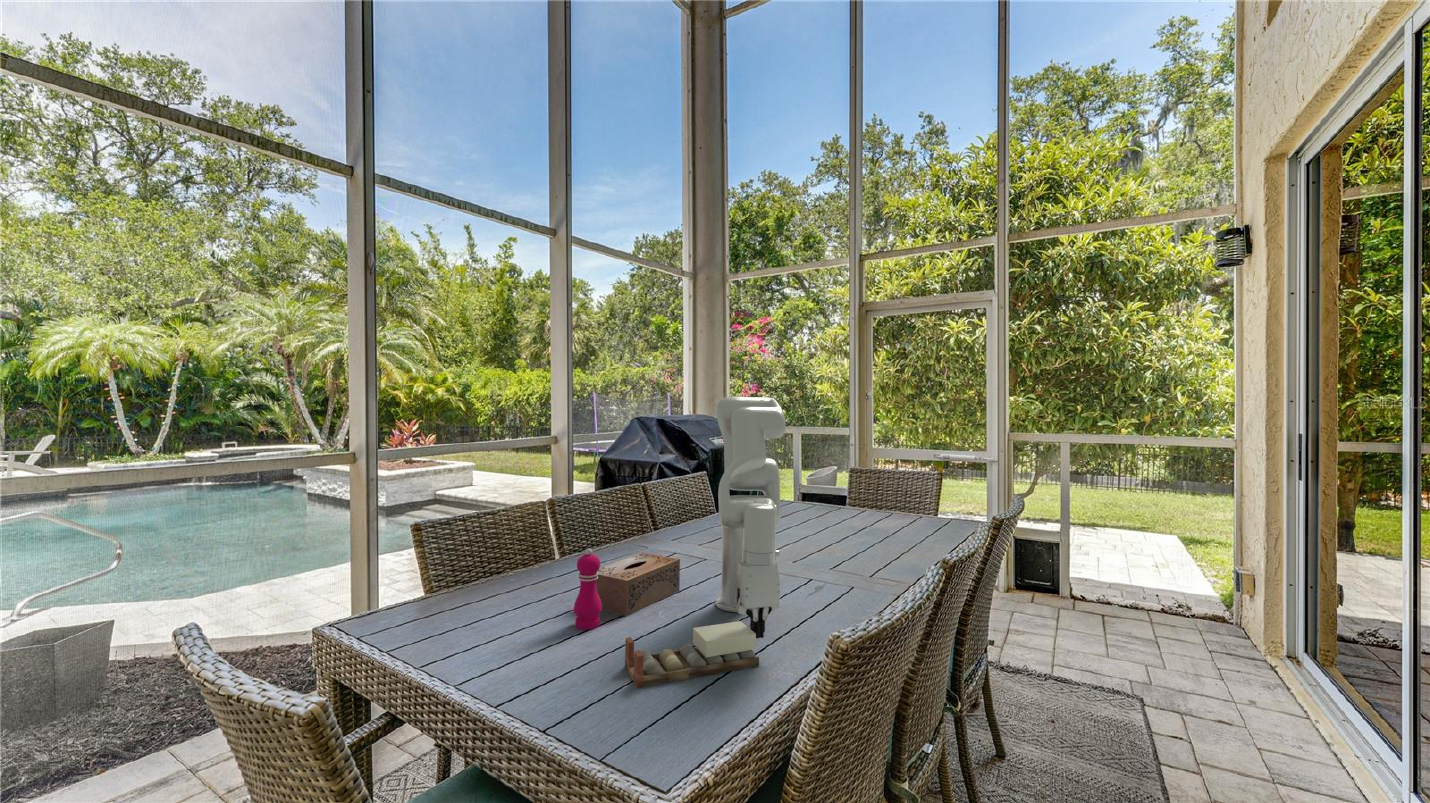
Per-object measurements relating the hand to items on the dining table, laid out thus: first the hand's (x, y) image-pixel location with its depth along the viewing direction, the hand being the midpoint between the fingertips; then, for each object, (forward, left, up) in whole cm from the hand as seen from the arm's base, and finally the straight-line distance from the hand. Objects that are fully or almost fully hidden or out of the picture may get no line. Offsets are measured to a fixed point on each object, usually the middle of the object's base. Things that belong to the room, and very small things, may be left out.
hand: (757, 635), depth 139 cm
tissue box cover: (+16, -48, -5) cm, 51 cm away
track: (+16, 0, -5) cm, 17 cm away
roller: (+21, 0, -3) cm, 21 cm away
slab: (+8, 0, -1) cm, 9 cm away
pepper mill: (+33, -32, -5) cm, 46 cm away
